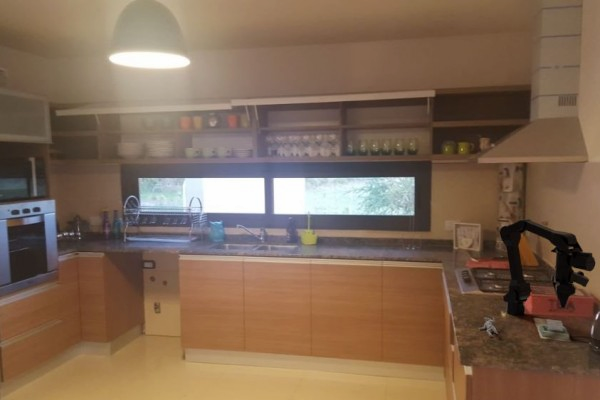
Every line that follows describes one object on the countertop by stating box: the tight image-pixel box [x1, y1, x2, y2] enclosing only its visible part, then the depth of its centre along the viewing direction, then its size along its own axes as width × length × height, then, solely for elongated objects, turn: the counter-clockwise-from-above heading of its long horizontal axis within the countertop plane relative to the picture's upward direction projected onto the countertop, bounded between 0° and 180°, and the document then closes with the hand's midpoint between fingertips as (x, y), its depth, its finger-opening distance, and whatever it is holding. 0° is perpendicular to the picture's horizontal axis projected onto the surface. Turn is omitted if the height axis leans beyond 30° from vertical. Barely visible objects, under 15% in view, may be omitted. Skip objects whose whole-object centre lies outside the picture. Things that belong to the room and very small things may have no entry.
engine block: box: [545, 318, 564, 333], centre depth 175 cm, size 5×4×5 cm
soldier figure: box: [478, 316, 499, 338], centre depth 181 cm, size 8×5×12 cm
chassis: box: [533, 317, 572, 344], centre depth 181 cm, size 10×23×3 cm, turn 159°
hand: (561, 304), depth 179 cm, fingers open, 9 cm apart
